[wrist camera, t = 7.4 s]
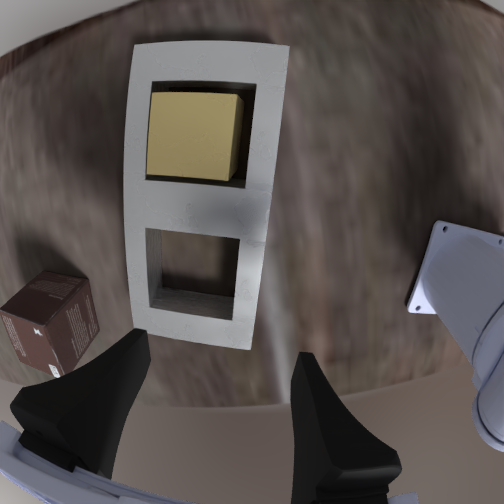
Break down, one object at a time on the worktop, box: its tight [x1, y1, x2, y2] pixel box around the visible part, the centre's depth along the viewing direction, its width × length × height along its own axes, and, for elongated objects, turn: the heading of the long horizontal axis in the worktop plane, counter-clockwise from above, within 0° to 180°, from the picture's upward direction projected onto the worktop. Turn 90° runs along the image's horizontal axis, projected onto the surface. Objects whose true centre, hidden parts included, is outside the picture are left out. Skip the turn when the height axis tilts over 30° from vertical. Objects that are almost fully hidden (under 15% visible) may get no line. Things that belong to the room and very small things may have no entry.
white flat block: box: [124, 41, 290, 350], centre depth 18 cm, size 9×20×3 cm, turn 174°
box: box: [0, 271, 100, 378], centre depth 21 cm, size 6×6×7 cm
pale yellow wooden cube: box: [147, 92, 245, 181], centre depth 16 cm, size 4×4×4 cm
